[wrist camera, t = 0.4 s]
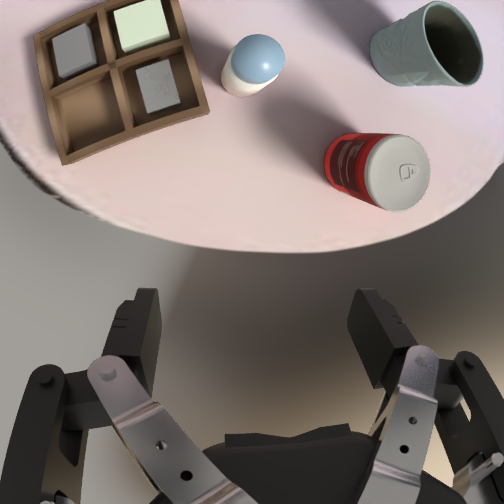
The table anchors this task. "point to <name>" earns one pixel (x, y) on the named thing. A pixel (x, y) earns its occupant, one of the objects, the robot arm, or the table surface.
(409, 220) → the table surface
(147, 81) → the grey rectangular block
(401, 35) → the green cup
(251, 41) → the glue stick
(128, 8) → the note block
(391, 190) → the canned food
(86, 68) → the eraser
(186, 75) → the organizer
